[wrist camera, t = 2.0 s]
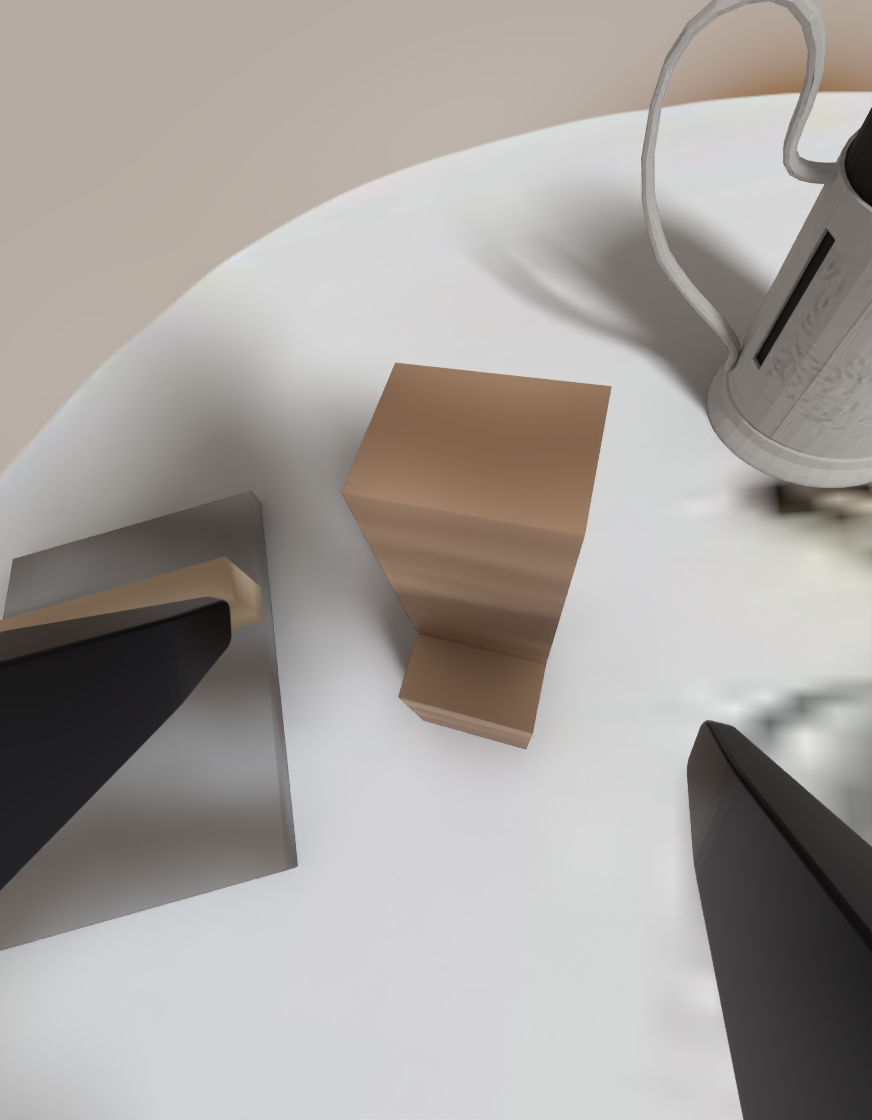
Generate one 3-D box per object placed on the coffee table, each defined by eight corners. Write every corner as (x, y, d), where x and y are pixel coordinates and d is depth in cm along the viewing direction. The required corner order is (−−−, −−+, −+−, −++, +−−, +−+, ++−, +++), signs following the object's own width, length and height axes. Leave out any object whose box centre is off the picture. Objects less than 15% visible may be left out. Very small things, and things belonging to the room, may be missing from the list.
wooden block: (525, 749, 18) (561, 664, 7) (423, 720, 19) (295, 601, 8) (559, 579, 21) (625, 307, 9) (467, 561, 22) (424, 292, 10)
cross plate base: (297, 866, 18) (244, 884, 14) (-27, 957, 18) (-162, 998, 14) (260, 502, 25) (219, 452, 21) (30, 567, 25) (-50, 529, 21)
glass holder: (922, 507, 20) (1733, -58, 7) (574, 442, 24) (663, -12, 10) (915, 355, 24) (1457, -230, 10) (610, 318, 27) (712, -150, 14)
